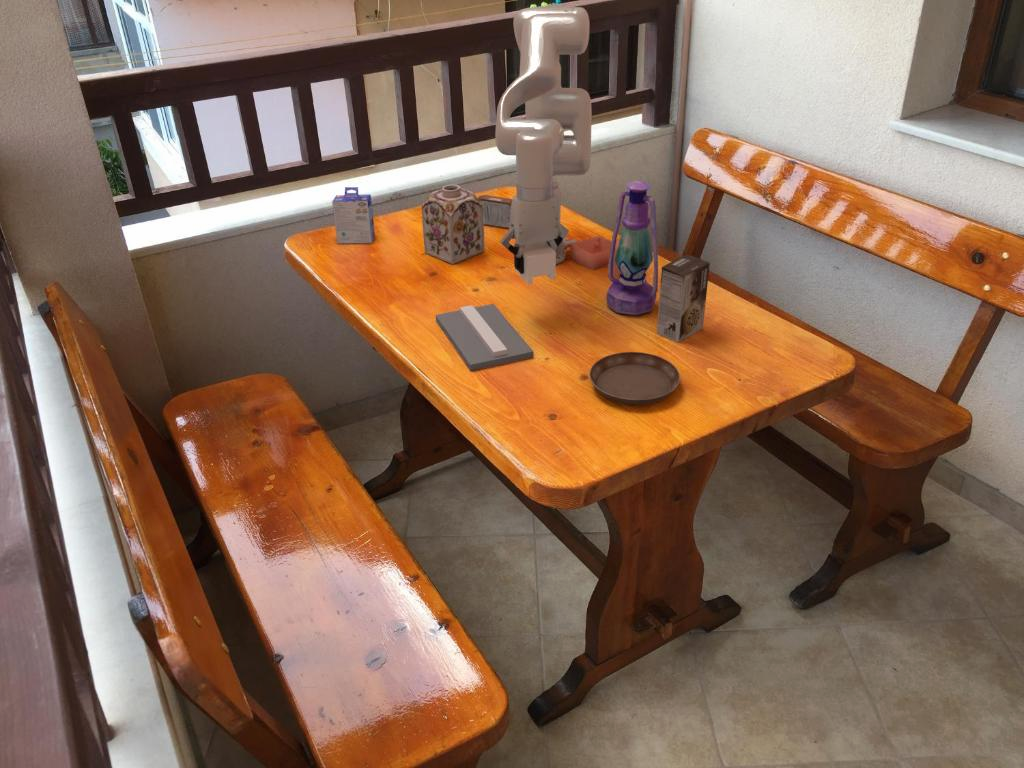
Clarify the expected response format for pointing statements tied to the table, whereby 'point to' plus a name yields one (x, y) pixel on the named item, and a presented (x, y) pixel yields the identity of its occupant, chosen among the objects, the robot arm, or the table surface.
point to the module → (538, 262)
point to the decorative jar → (453, 224)
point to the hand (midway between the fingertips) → (534, 267)
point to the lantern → (634, 253)
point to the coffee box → (682, 297)
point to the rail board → (483, 336)
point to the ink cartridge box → (353, 217)
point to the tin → (496, 211)
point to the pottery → (594, 253)
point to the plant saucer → (634, 378)
